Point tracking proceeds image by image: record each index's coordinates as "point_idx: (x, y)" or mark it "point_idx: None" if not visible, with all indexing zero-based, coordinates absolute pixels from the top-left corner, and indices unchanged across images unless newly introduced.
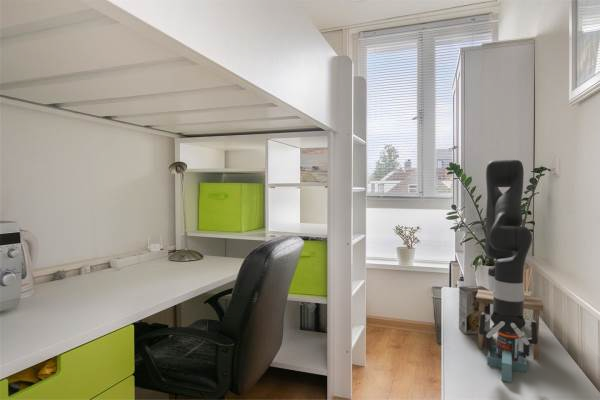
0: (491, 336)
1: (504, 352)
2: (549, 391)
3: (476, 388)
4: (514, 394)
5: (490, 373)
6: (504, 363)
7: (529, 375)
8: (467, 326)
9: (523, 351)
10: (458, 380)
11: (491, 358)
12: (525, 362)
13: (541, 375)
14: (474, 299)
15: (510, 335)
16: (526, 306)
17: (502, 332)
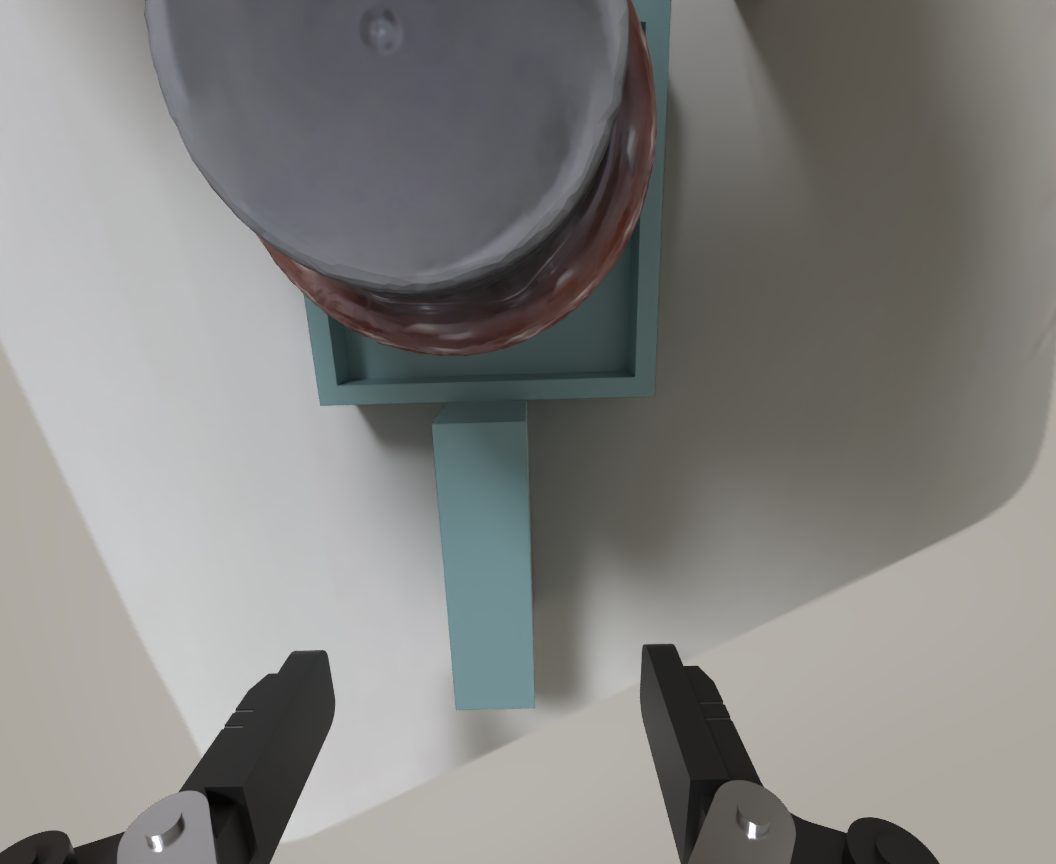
0: (237, 790)
1: (456, 461)
2: (752, 597)
3: (356, 756)
4: (552, 722)
5: (395, 537)
6: (477, 704)
7: (655, 426)
8: None
9: (657, 774)
10: None
11: (358, 401)
12: (647, 354)
13: (744, 377)
14: None
15: (497, 349)
16: None
17: (350, 327)
